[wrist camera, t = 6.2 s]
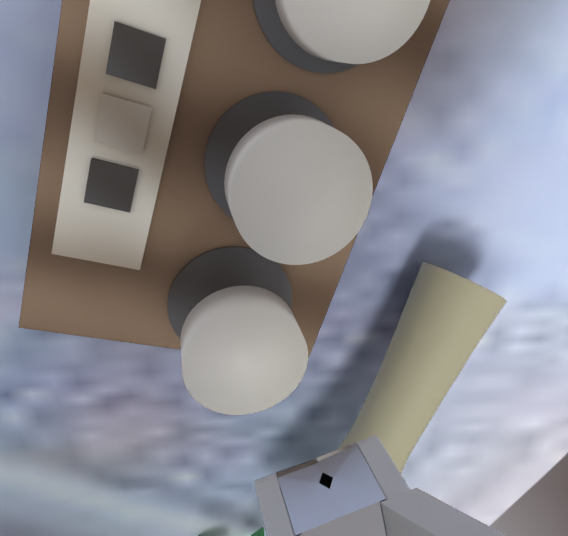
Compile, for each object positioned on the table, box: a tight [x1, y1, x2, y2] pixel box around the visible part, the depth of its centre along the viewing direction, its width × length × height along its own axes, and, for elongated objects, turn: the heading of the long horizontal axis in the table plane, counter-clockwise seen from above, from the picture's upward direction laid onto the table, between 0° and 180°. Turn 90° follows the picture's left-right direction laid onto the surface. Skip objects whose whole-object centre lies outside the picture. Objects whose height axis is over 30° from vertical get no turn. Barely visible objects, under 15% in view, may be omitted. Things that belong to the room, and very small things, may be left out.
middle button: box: [224, 114, 373, 265], centre depth 17 cm, size 5×5×2 cm
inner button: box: [180, 286, 308, 415], centre depth 20 cm, size 5×5×2 cm
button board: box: [19, 0, 450, 358], centre depth 21 cm, size 20×14×4 cm
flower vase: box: [199, 262, 507, 536], centre depth 30 cm, size 12×12×35 cm
